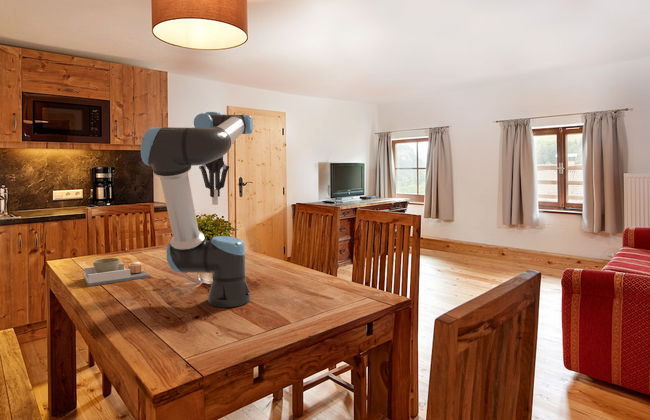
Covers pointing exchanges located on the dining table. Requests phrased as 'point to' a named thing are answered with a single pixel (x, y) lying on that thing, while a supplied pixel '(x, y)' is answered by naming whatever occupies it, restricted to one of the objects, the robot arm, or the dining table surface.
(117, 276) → the chassis
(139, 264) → the wheel
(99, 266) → the flower pot
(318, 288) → the dining table surface
